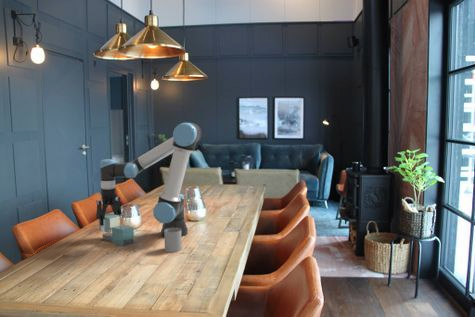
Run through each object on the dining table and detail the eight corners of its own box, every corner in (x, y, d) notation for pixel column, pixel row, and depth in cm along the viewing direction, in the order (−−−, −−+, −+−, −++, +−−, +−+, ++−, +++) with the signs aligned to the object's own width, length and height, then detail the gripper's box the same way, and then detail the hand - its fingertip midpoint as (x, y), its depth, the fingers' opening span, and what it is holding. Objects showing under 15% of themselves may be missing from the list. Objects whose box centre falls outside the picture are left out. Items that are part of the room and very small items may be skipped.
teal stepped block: (134, 242, 212) (133, 227, 211) (123, 246, 206) (122, 230, 205) (111, 236, 224) (110, 221, 223) (100, 239, 218) (99, 224, 217)
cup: (167, 253, 195) (167, 233, 194) (162, 248, 202) (162, 229, 201) (184, 250, 199) (183, 230, 198) (178, 246, 206) (178, 227, 205)
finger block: (99, 230, 218) (98, 215, 217) (110, 227, 224) (109, 213, 223) (109, 233, 212) (109, 218, 212) (120, 230, 218) (120, 215, 217)
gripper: (119, 184, 226) (120, 224, 228) (87, 189, 210) (89, 232, 213) (127, 186, 222) (128, 226, 224) (95, 191, 206) (97, 234, 208)
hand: (109, 229), depth 218 cm, fingers closed on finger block, 7 cm apart
